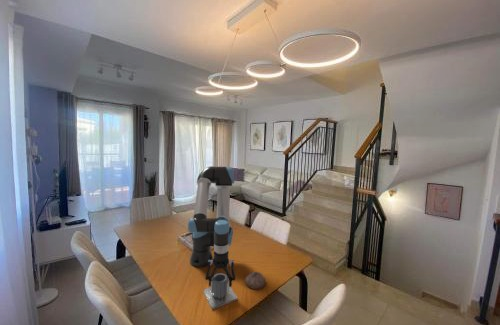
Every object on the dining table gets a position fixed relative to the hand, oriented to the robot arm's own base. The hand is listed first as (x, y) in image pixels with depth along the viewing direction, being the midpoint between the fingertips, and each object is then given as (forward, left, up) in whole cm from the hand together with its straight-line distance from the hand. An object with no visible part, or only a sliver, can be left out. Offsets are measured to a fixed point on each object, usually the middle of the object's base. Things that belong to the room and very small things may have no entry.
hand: (220, 291), depth 109 cm
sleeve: (0, 0, 0) cm, 0 cm away
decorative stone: (0, +22, -3) cm, 22 cm away
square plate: (0, 0, -2) cm, 2 cm away
